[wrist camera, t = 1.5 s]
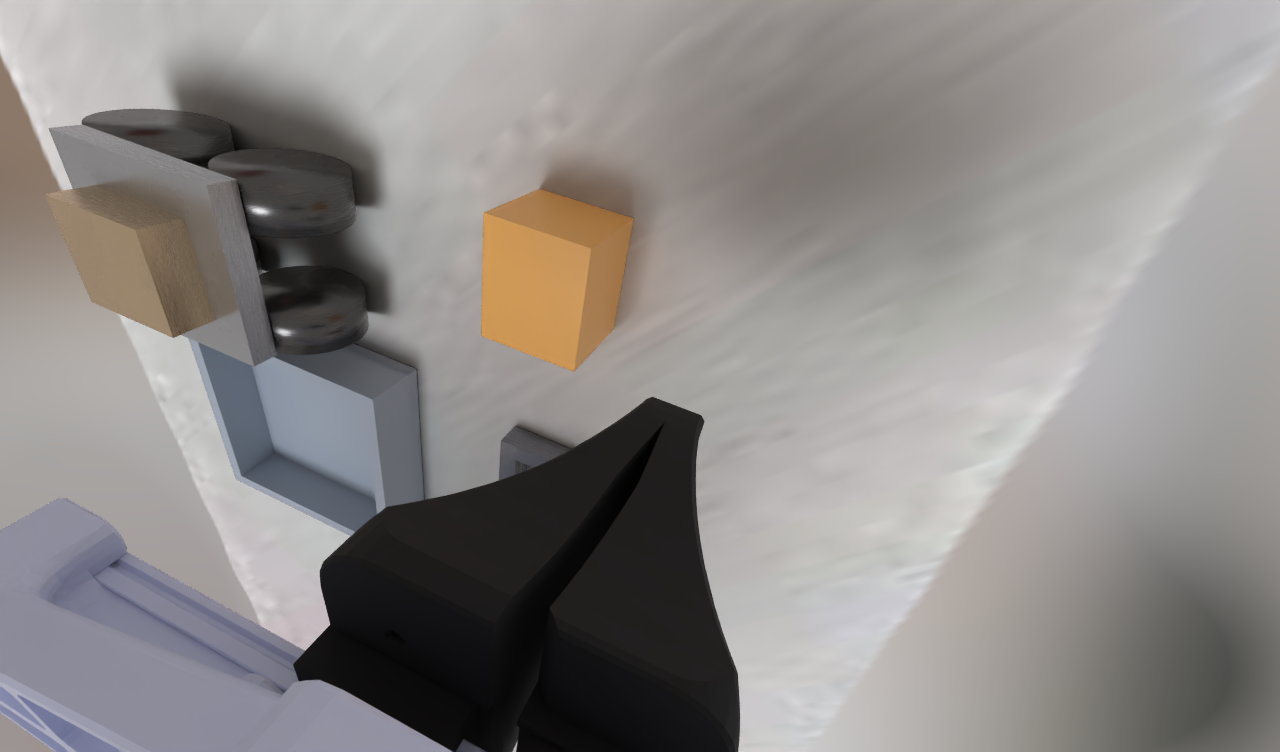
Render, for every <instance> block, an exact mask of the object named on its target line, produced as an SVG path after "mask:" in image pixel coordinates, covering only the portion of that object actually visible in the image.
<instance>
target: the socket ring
mask: <svg viewBox="0 0 1280 752" xmlns="http://www.w3.org/2000/svg"><path fill="white" fill-rule="evenodd" d="M569 450H570V448H567V447H565V446H563V445H560V444H558V443H555V442H553V441H551V440H548V439H546V438H543V437H541V436H538V435H536V434H534V433H531V432H529V431H526V430H524V429H522V428H519V427H517V426H515V427H514V428H513V429H512V430H511V431H510V432H509V433H508V434H507V435H506V436H505V437H504V438H503V439H502V440H501V453H500V471H499V480H502V479H505V478H507V477H510V476H513V475H515V474H518V473H521V472H523V471H526V470H527V465H528V466H530V467H535V466H538V465H540V464H542V463H544V462H547V461H549V460H551V459H553V458H555V457H557V456H559V455H561V454H563V453H565V452H567V451H569Z"/></svg>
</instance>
